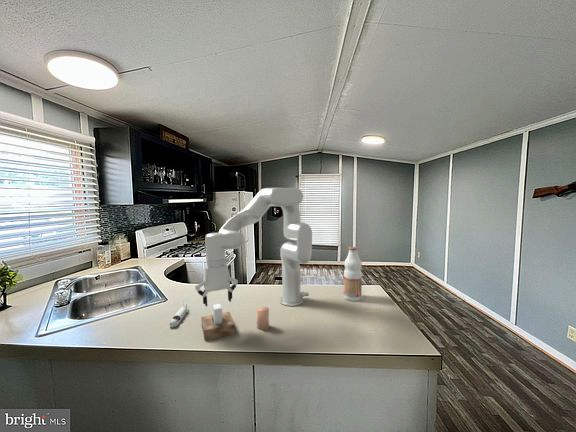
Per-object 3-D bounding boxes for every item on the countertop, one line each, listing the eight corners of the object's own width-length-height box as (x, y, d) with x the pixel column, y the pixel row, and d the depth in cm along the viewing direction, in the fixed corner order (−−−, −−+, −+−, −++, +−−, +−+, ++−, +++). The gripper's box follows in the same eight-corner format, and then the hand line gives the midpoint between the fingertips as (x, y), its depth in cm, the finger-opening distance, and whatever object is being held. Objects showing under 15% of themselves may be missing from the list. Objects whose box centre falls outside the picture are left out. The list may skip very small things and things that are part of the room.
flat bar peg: (220, 326, 110) (220, 303, 110) (222, 331, 106) (221, 308, 105) (213, 327, 109) (212, 304, 108) (215, 333, 105) (214, 309, 104)
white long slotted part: (178, 328, 109) (177, 314, 108) (167, 329, 109) (166, 314, 108) (191, 309, 127) (191, 297, 126) (181, 310, 127) (181, 297, 126)
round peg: (266, 323, 113) (266, 305, 112) (270, 328, 108) (270, 310, 107) (255, 325, 111) (255, 307, 110) (259, 331, 106) (258, 312, 105)
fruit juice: (348, 302, 133) (349, 249, 131) (340, 295, 143) (341, 246, 140) (364, 300, 135) (365, 248, 133) (356, 294, 145) (357, 245, 142)
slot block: (229, 320, 115) (229, 311, 115) (235, 333, 104) (234, 323, 104) (201, 325, 111) (201, 317, 110) (204, 340, 100) (204, 330, 99)
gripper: (235, 258, 112) (236, 295, 114) (193, 263, 105) (195, 303, 107) (238, 262, 105) (240, 302, 107) (194, 268, 98) (196, 310, 100)
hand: (218, 302), depth 107 cm, fingers open, 9 cm apart
